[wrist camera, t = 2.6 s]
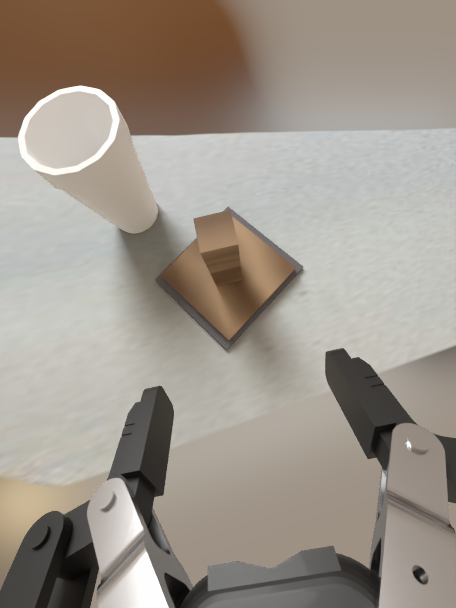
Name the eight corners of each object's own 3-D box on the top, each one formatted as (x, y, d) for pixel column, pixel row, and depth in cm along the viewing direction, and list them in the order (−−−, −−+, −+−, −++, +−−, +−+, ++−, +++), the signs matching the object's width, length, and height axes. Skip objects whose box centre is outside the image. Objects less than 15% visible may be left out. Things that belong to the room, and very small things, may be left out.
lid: (229, 340, 28) (217, 334, 18) (162, 277, 31) (117, 238, 20) (294, 269, 29) (320, 223, 19) (225, 213, 32) (213, 145, 21)
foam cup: (179, 193, 33) (136, 97, 21) (153, 251, 32) (91, 185, 19) (121, 178, 35) (47, 78, 22) (94, 232, 33) (-1, 160, 21)
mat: (226, 349, 28) (226, 349, 28) (155, 281, 31) (154, 280, 31) (302, 267, 30) (303, 266, 29) (228, 208, 32) (228, 206, 32)
